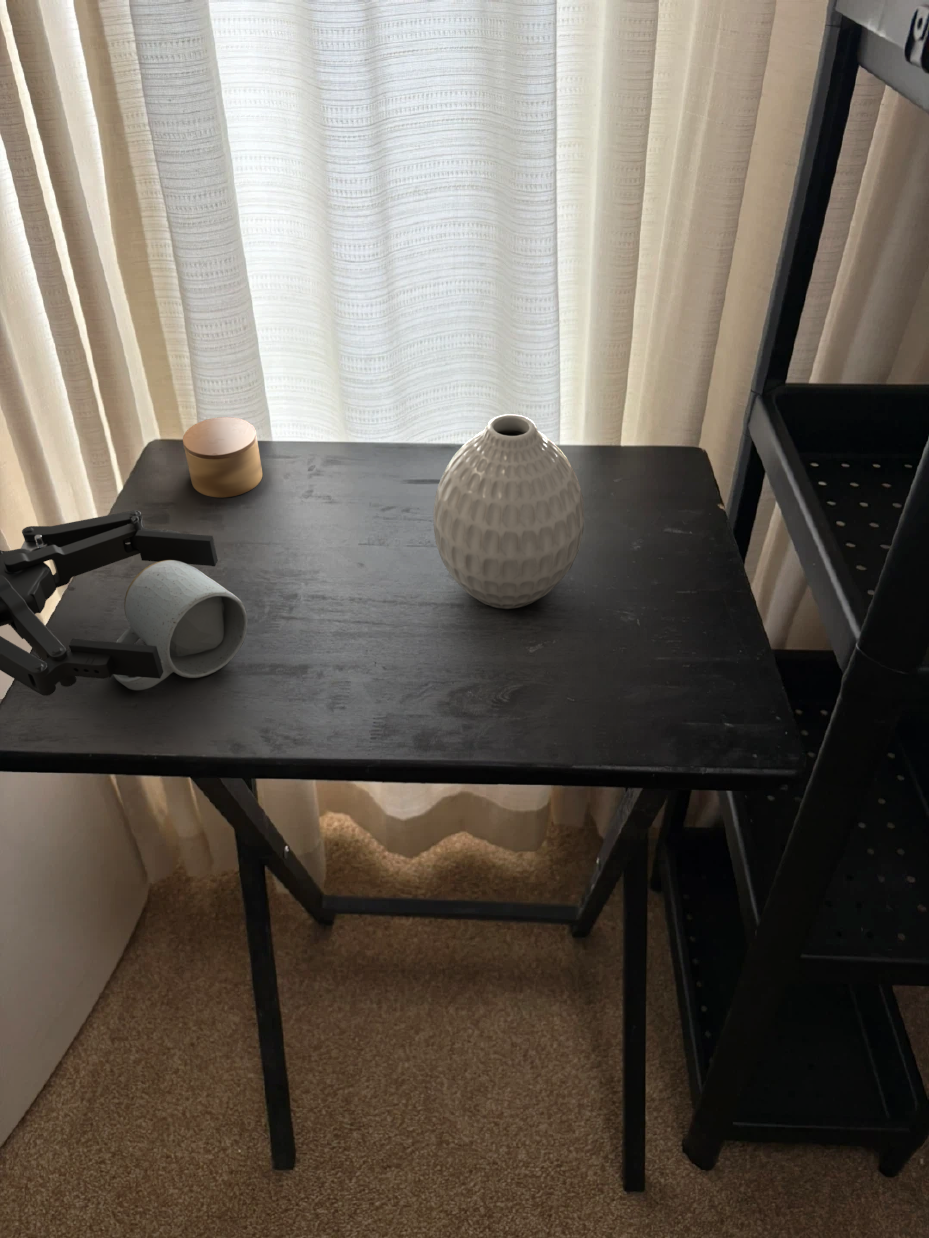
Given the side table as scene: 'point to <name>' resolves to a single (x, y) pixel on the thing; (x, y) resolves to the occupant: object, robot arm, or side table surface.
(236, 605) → the ceramic mug
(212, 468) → the oak stand
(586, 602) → the side table surface
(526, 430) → the vase
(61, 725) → the side table surface
